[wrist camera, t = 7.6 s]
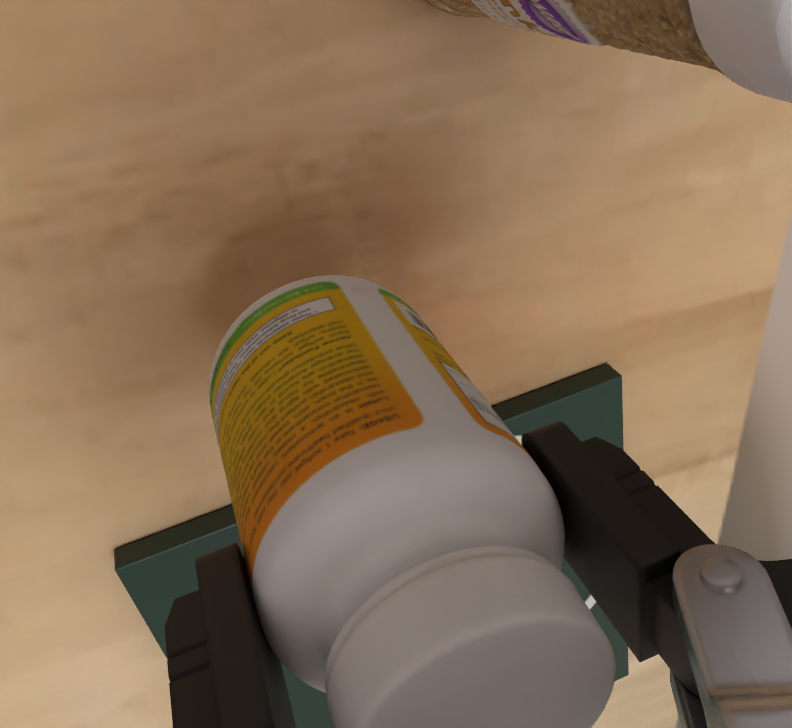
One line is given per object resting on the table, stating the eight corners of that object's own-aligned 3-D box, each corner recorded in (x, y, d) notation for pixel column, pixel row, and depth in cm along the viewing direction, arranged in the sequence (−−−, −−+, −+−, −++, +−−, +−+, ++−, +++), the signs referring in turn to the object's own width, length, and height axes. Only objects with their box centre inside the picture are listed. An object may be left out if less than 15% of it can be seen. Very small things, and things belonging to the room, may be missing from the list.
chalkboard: (607, 362, 29) (624, 376, 28) (618, 659, 39) (630, 676, 38) (113, 548, 25) (113, 572, 24) (269, 820, 36) (273, 843, 35)
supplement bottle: (188, 459, 18) (253, 881, 10) (229, 250, 16) (355, 581, 8) (391, 468, 20) (576, 820, 12) (453, 286, 18) (725, 572, 10)
